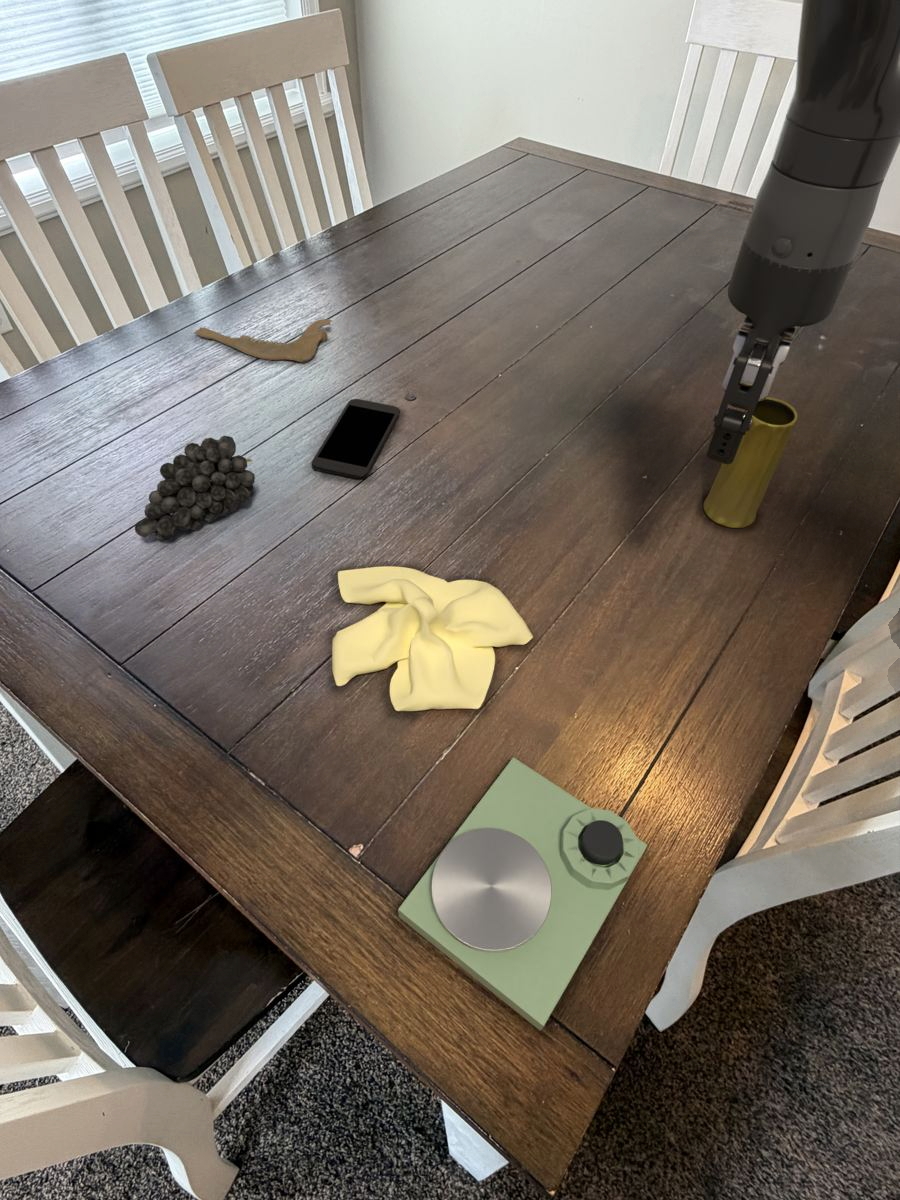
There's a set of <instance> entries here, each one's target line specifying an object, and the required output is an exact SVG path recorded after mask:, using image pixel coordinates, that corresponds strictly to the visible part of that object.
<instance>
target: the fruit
mask: <svg viewBox="0 0 900 1200" xmlns="http://www.w3.org/2000/svg"><path fill="white" fill-rule="evenodd" d="M236 451H237V444H236V442H235V440H234V438H233V437H232V436H230V435H222V436H221V437H220V438H219V439H216V438H213V437H206V438H204V439H203V440H202V441H201V444H200V445H199V444H198V443H195V442H190V443H187V444H186V445H185V447H184V453H183V454H181V453H180V454H178V455H175V456H174V458H173V460H172V462H173V463H172V462H165V463H163V464H162V465H161V466H160V469H159V473H160V475H161V477H162V478H163V479H162V480H160V481H159V482H158V483H157V485H156V490H151V492H150V493H149V495H148V501H149V503H148V504H146V505H145V507H144V515H145V517H146V518H144V519H140V520H139V521H137V522H136V523H135V526H134V531H135V533H136V534H137V535H138V536H139V537H142V538H148V537H150V536H152V535H155V537H156V538H157V539H158V540H159V541H170V540H171V539H172V537H173V534H174V533H175V532H177V531H179V530H180V531H187V530H189V529H190V530H193V531H196V530H200V528H201V527H202V526H203V521H202V519H204V520H205V521H206V522H213V521H214V520H216V519H217V516H223V517H224V516H226V515H228V514H230V513H233V512H235V511H236V510H237V509H238V504H246V503H247V502H249V501H250V500H251V499H250V498H252V497H253V496H254V495H255V488H254V484H255V480H256V477H255V473H254V472H253V471H251V470H247V467H248V463H249V462H252V461H253V460H252V459H251V458H246V457H245V456H242V455H240V454H238V455H235V454H236Z"/></svg>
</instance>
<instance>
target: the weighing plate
mask: <svg viewBox="0 0 900 1200" xmlns="http://www.w3.org/2000/svg"><path fill="white" fill-rule="evenodd" d="M447 844H448V843H447ZM447 844H446V845H447ZM445 847H446V846H445ZM445 847H444V848H445ZM444 848H443V849H444ZM443 849H442V851H441V852H442V853H441V852H440V853H441V854H440V853H439V854H440V856H439V855H438V856H439V858H438V860H437V862H436V864H435V867H434V870H433V874H432V880H431V896H432V902H433V906H434V909H435V912H436V915H437V917H438V919H439V921H440V922H441V924H442V925H443V927H444V928H445V929H446V931H447V932H448V933H449V934H450V935H451V936H452V937H453V938H454V939H455V940H457V941H458V942H460V943H461V944H463V945H465V946H467V947H469V948H471V949H474V950H477V951H480V952H486V953H502V952H507V951H511V950H513V949H516V948H518V947H520V946H522V945H524V944H525V943H527V942H528V941H529V940H531V939H532V938H533V937H534V936H535V935H536V934H537V933H538V931H539V930H540V928H541V927H542V925H543V924H544V922H545V920H546V917H547V915H548V912H549V909H550V905H551V898H552V886H551V880H550V875H549V872H548V869H547V867H546V865H545V862H544V861H543V859H542V857H541V856H540V854H539V853H538V852H537V851H536V849H535V848H534V847H533V846H532V845H531V844H530V843H528V842H527V841H526V840H525V839H523V838H521V837H520V836H518V835H516V834H514V833H512V832H509V831H506V830H502V829H497V828H481V829H476V830H472V831H469V832H466V833H464V834H462V835H460V836H459V837H457V838H456V839H454V840H453V841H452V842H451V843H450V844H448V845H447V847H446V848H445V849H444V850H443Z"/></svg>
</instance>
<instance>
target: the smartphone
mask: <svg viewBox="0 0 900 1200" xmlns="http://www.w3.org/2000/svg"><path fill="white" fill-rule="evenodd" d="M400 415H401V410H400V408H399V407H397V406H395V405H390V404H385V403H381V402H375V401H371V400H365V399H360V398H352V399H350V400H349V401H348V402H347V404H346V405H345V407H344V408H343V410H342V411H341V413H340V415H339V416H338V418H337V419H336V421H335V422H334V424H333V426H332V428H331V429H330V431H329V432H328V434H327V436H326V437H325V439H324V440H323V442H322V444H321V446H320V447H319V449H318V451H317V452H316V454H315V455H314V457H313V459H312V460H311V467H312V469H313V470H315V471H320V472H324V473H330V474H334V475H337V476H338V475H339V476H343V477H349V478H352V479H357V480H363V479H366V478H367V477H368V476H369V474H370V472H371V471H372V469H373V467H374V465H375V463H376V461H377V459H378V457H379V456H380V454H381V452H382V449H383V448H384V446H385V445H386V442H387V441H388V439H389V437H390V435H391V433H392V431H393V429H394V427H395V425H396V423H397V421H398V419H399V418H400Z"/></svg>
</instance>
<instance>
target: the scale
mask: <svg viewBox="0 0 900 1200" xmlns="http://www.w3.org/2000/svg"><path fill="white" fill-rule="evenodd" d="M598 820H604V821H608V822H610V823H612V824H613V825H615V826H616V827H617V828H618V829H619V831H620V833H621V835H622V838H623V846H622V849H621V851H620V853H619V855H618V856H617V858H616V859H615V860H614V861H613V862H612V863H610V864H607V865H598V864H595V863H593V862H591V861H590V860H589V859H588V858H587V857H586V856H585V855H584V853H583V851H582V848H581V840H582V837H583V834H584V832H585V829H586V828H587V826H588V825H589V824H590V823H592V822H594V821H598ZM481 828H497V829H502V830H506V831H509V832H512V833H514V834H516V835H518V836H520V837H521V838H523V839H525V840H526V841H527V842H528V843H530V844H531V845H532V846H533V847H534V848H535V849H536V851H537V852H538V853H539V854H540V856H541V857H542V859H543V861H544V862H545V865H546V867H547V869H548V872H549V875H550V880H551V886H552V898H551V905H550V909H549V912H548V915H547V917H546V920H545V922H544V924H543V925H542V927H541V928H540V930H539V931H538V933H537V934H536V935H535V936H534V937H533V938H532V939H531V940H529V941H528V942H527V943H525V944H524V945H522V946H520V947H518V948H516V949H513V950H511V951H507V952H502V953H486V952H480V951H477V950H474V949H471V948H469V947H467V946H465V945H463V944H461V943H460V942H458V941H457V940H455V939H454V938H453V937H452V936H451V935H450V934H449V933H448V932H447V931H446V929H445V928H444V927H443V925H442V924H441V922H440V921H439V919H438V917H437V915H436V912H435V909H434V906H433V902H432V896H431V880H432V874H433V870H434V867H435V864H436V862H437V860H438V858H439V856H440V854H441V853H442V851H443V850H444V849H445V848H446V847H447V845H448V844H450V843H451V842H452V841H453V840H454V839H456V838H457V837H459V836H460V835H462V834H464V833H466V832H469V831H472V830H476V829H481ZM647 848H648V844H647V843H646V842H644V841H643V840H641V839H640V838H638V837H637V835H636V833H635V832H634V830H633V829H632V827H631V825H630V824H629V822H628V821H627V820H625V818H623V817H621V816H619V814H617V813H616V812H614V811H612V810H610V809H603V808H594V807H590V806H589V805H587V804H586V803H584V802H583V801H581V800H580V799H579V798H577V797H576V796H574V795H572V794H570V793H569V792H567V791H566V790H565V789H563V788H561V787H560V786H559V785H557V784H556V783H553V782H552V781H550V780H549V779H547V778H546V777H544V776H543V775H541V774H540V773H538V772H537V771H536V770H534V769H532V768H531V767H530V766H528V765H527V764H525V763H523V762H522V761H520V760H518V759H517V758H516V757H512V758H511V760H510V761H509V762H508V763H507V764H506V766H505V767H504V769H503V770H502V771H501V773H500V774H499V775H498V777H497V778H496V779H495V781H494V782H493V783H492V784H491V785H490V787H489V788H488V790H487V791H486V792H485V794H484V795H483V796H482V797H481V799H480V800H479V801H478V803H477V804H476V806H475V807H474V808H473V809H472V811H471V812H470V813H469V815H468V816H467V817H466V819H465V820H464V821H463V822H462V824H461V825H460V826H459V828H458V829H457V831H456V832H455V833H454V835H453V836H452V837H451V838H450V840H448V843H447V844H446V845H445V847H443V849H442V851H441V852H440V853H439V854H438V856H437V857H436V858H435V860H434V861H433V862H432V864H431V865H430V866H429V868H428V869H427V870H426V871H425V872H424V874H423V875H422V877H421V878H420V880H418V882H417V884H416V885H415V886H414V888H412V890H411V891H410V893H409V894H408V895H407V896H406V898H405V900H404V901H403V902H402V903H401V905H400V906H399V907H398V908H397V912H398V913H397V914H398V918H399V919H400V920H401V921H403V922H404V923H406V924H407V925H408V926H409V927H410V928H412V929H413V930H414V931H415V932H417V933H418V934H419V936H421V937H423V938H424V939H425V940H427V941H428V942H429V943H430V944H431V945H432V946H434V947H435V948H437V949H438V950H439V951H440V952H441V953H443V954H444V955H445V956H447V958H449V959H450V960H451V961H453V963H455V964H456V965H457V966H459V967H460V968H461V969H463V970H464V971H465V972H466V973H467V974H469V975H470V976H471V977H473V978H474V979H475V980H476V981H477V982H479V983H480V984H481V985H482V986H484V987H485V988H486V989H487V990H489V991H490V992H491V993H492V994H494V996H496V997H497V998H499V1000H501V1001H502V1002H504V1003H505V1004H506V1005H507V1006H509V1007H510V1008H511V1009H512V1010H514V1011H515V1012H516V1013H517V1014H519V1015H520V1016H521V1017H522V1018H523V1019H524V1020H526V1021H527V1022H528V1023H529V1024H531V1025H532V1026H533V1027H535V1028H536V1029H537V1030H538V1031H540V1032H541V1031H542V1030H543V1029H544V1027H545V1025H546V1024H547V1022H548V1020H549V1018H550V1017H551V1015H552V1013H553V1011H554V1009H555V1008H556V1006H557V1004H558V1002H559V1001H560V999H561V997H562V996H563V993H564V992H565V990H566V989H567V987H568V985H569V983H570V982H571V980H572V978H573V976H574V975H575V974H576V971H577V969H578V968H579V966H580V965H581V962H582V961H583V959H584V957H585V955H586V954H587V952H588V950H589V948H590V947H591V945H592V944H593V942H594V940H595V938H596V937H597V934H598V933H599V931H600V929H601V927H602V926H603V924H604V922H605V921H606V919H607V917H608V915H609V913H610V912H611V910H612V908H613V907H614V905H615V903H616V902H617V900H618V898H619V897H620V894H621V893H622V891H623V889H624V887H625V886H626V884H627V882H628V880H629V878H630V877H631V875H632V874H633V872H634V870H635V868H636V867H637V865H638V863H639V861H640V860H641V858H642V856H643V854H644V853H645V851H646V850H647Z"/></svg>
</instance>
